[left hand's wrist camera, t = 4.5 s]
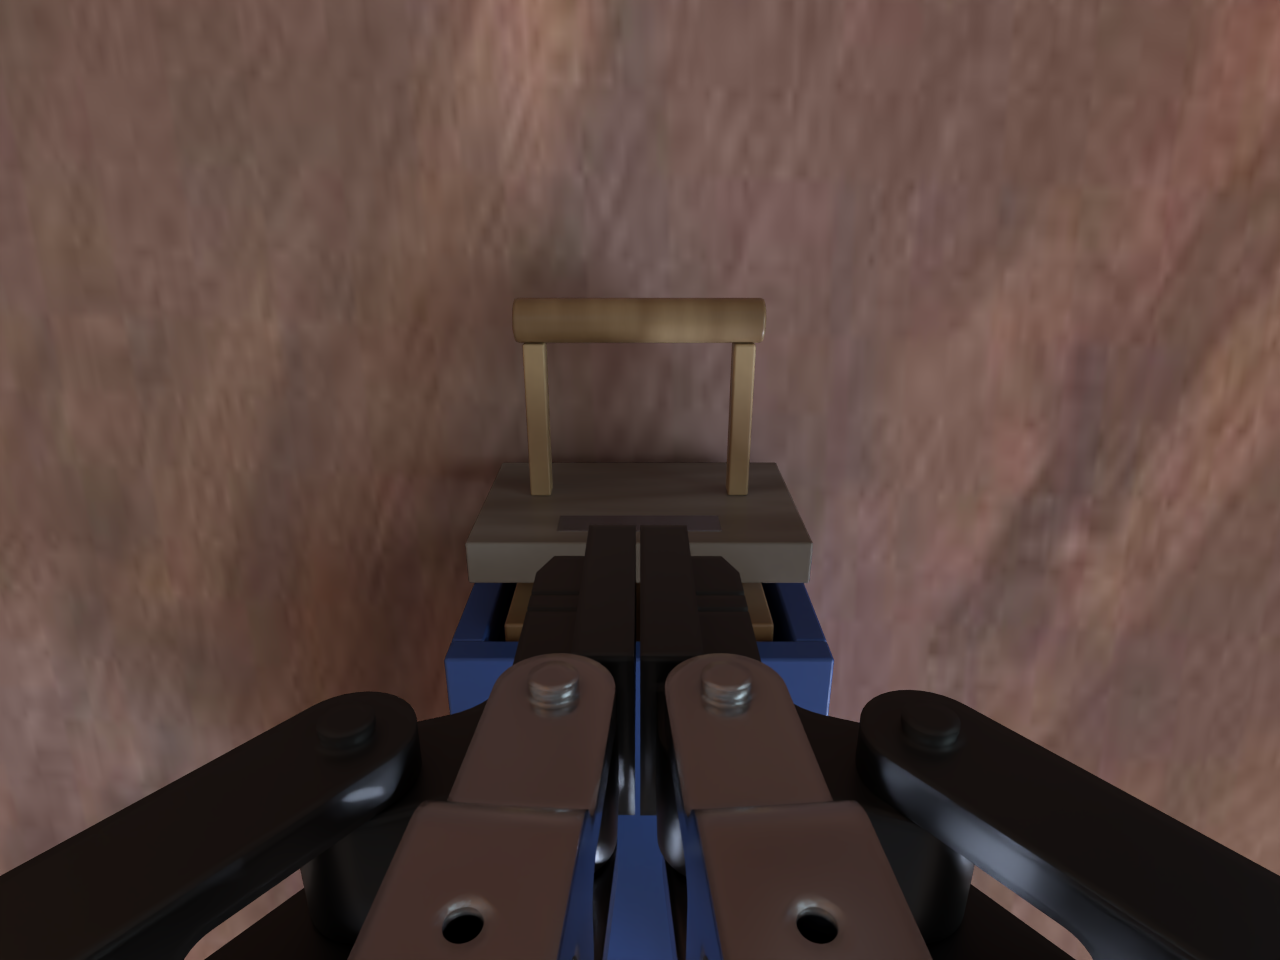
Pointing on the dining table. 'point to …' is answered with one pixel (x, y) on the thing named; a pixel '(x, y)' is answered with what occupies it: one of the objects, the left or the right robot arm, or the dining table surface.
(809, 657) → the cabinet
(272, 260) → the dining table surface
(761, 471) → the drawer
